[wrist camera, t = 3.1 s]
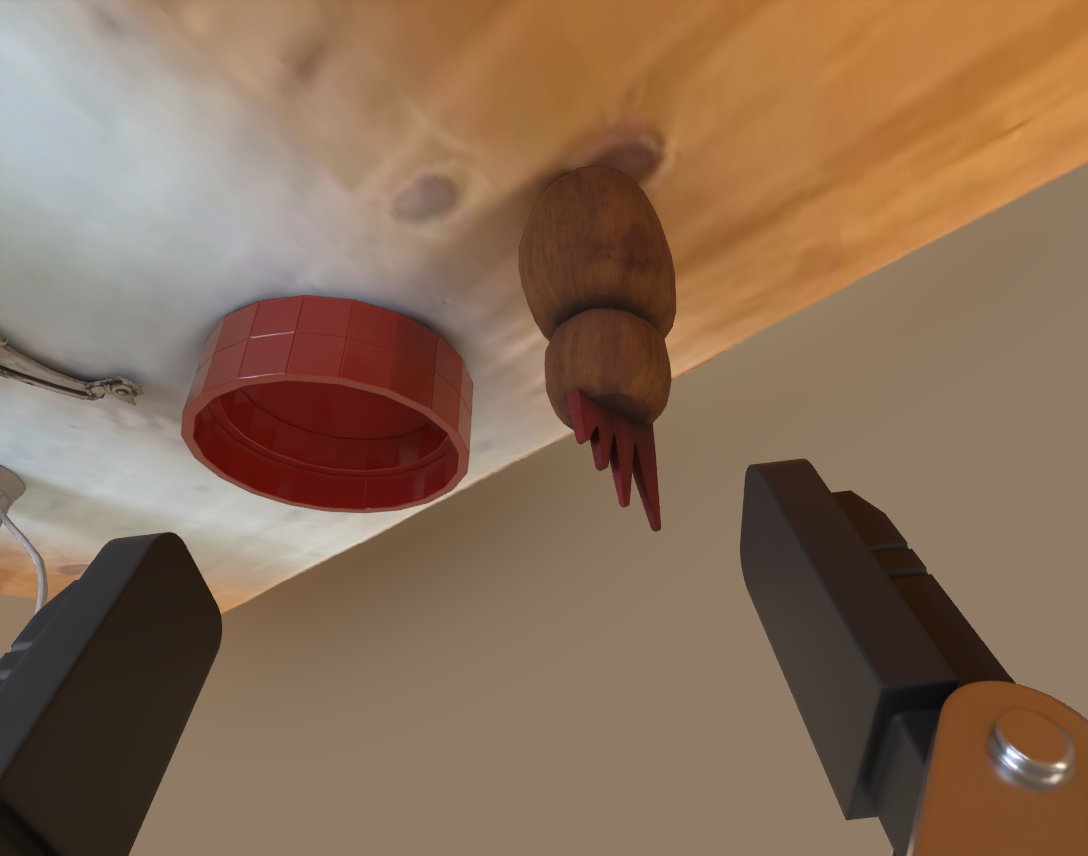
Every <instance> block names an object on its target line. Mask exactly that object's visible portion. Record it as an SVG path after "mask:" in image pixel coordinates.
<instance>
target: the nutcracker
mask: <svg viewBox="0 0 1088 856" xmlns="http://www.w3.org/2000/svg"><path fill="white" fill-rule="evenodd" d="M7 342H8V339H7V338H3V337H1V336H0V376H2V377H6V378H12V379H15V380H18V381H21V382H24V383H27V384H30V385H34V386H37V387H40V388H44V389H47V390H50V391H54V392H57V393H61V394H65V395H69V396H72V397H76V398H80V399H82V400H84V399H86V400H97V399H99V398H103V397H104V395H105V393H109V394H113V395H114V396H116V397H117V398H118V399H120V400H123V401H126V402H128V403H131V404H133V405H137V404H136V402H135V401H134V400H133V398H136V395H141V394H144V392H142V391H143V390H141V388H139V387H140V386H137V384H135V382H133V381H130V380H128V379H124V378H122V377H119V376H116V377H117V378H118V379H119V380H118V381H114V380H113V379H106V380H104V381H103V380H100V381H96V382H93V381H90V382H89V383H88V382H84V381H80V380H77V379H73V378H71V377H68V376H65V375H63V374H60V373H58V372H55V371H53V370H51V369H49V368H47V367H45V366H43V365H41V364H39V363H37V362H35V361H33V360H32V359H30V358H28V357H26V356H24V355H23V354H21V353H19V352H17V351H16V350H14V349H12V348H11V347H9V346H7V345H6V344H7Z"/></svg>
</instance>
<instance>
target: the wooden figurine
mask: <svg viewBox="0 0 1088 856" xmlns="http://www.w3.org/2000/svg"><path fill="white" fill-rule="evenodd" d="M519 272H520V277H521V282H522V287H523V290H524V293H525V296H526V299H527V302H528V305H529V307H530V310H531V312H532V315H533V317H534V320H535V322H536V324H537V325H538V327H539V329H540V330H541V332H542V334H543V335H544V337H546V338H547V339H548V340H549V341H550V342H549V345H548V347H547V349H546V351H545V379H546V391H547V394H548V397H549V400H550V402H551V405H552V407H553V409H554V411H555V413H556V415H557V416H558V418H559V419H560V420H561V421H562V422H563V423H564V424H565V425H566V426H568V427H569V428H571V429H572V430H574V432H575V436H576V440H577V442H578V443H579V444H582V443H584V442H586V441H588V440H589V439H590V442H591V447H592V452H593V456H594V461H595V466H596V469H597V470H599V471H601V470H603V469H606V468H607V467H608V464H609V460H610V465H611V469H612V473H613V478H614V482H615V486H616V491H617V495H618V499H619V503H620V505H621V506H622V507H626V506H629V504H630V491H631V478H632V473H633V476H634V479H635V482H636V485H637V488H638V490H639V493H640V497H641V499H642V502H643V505H644V508H645V511H646V514H647V517H648V520H649V523H650V526H651V528H652V530H653V531H659V530H660V529H661V520H660V506H659V493H658V481H657V480H658V479H657V466H656V453H655V443H654V433H653V424H652V423H653V422H654V421H655V420H656V419H657V418H658V417H659V416H660V415H661V413H662V412H663V410H664V408H665V407H666V404H667V401H668V397H669V391H670V386H671V369H670V362H669V358H668V353H667V349H666V344H665V340H664V339H665V338H666V336H667V335H668V333H669V332H670V330H671V329H672V327H673V323H674V319H675V314H676V288H675V273H674V267H673V261H672V256H671V253H670V250H669V246H668V243H667V240H666V237H665V234H664V232H663V229H662V226H661V223H660V220H659V218H658V216H657V214H656V212H655V210H654V208H653V206H652V205H651V203H650V201H649V200H648V198H647V196H646V195H645V193H644V192H643V190H642V189H641V188H640V187H639V186H638V184H637V183H636V182H635V181H633V180H632V179H631V178H629V177H628V176H627V175H625V174H624V173H623V172H621V171H618V170H614V169H610V168H607V167H603V166H596V167H582V168H578V169H576V170H574V171H571V172H569V173H567V174H565V175H563V176H561V177H560V178H559V179H557V180H556V181H555V182H554V183H553V184H551V185H550V186H549V187H548V188H547V189H546V190H545V191H544V192H543V194H542V195H541V196H540V197H539V199H538V201H537V203H536V205H535V206H534V208H533V210H532V213H531V215H530V217H529V220H528V222H527V225H526V227H525V229H524V232H523V236H522V239H521V242H520V245H519Z"/></svg>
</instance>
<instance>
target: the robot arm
mask: <svg viewBox="0 0 1088 856" xmlns="http://www.w3.org/2000/svg"><path fill="white" fill-rule="evenodd" d="M740 557H741V566H742V571H743V576H744V580H745V583H746V586H747V589H748V592H749V594H750V597H751V599H752V601H753V604H754V606H755V608H756V611H757V613H758V615H759V617H760V620H761V622H762V625H763V627H764V629H765V632H766V634H767V636H768V639H769V641H770V643H771V646H772V648H773V650H774V653H775V655H776V658H777V660H778V662H779V665H780V667H781V669H782V671H783V674H784V676H785V679H786V681H787V683H788V686H789V688H790V690H791V693H792V695H793V697H794V700H795V702H796V704H797V707H798V709H799V711H800V714H801V716H802V718H803V721H804V723H805V725H806V727H807V730H808V732H809V735H810V737H811V739H812V742H813V744H814V746H815V749H816V751H817V753H818V756H819V758H820V760H821V763H822V765H823V767H824V769H825V772H826V774H827V777H828V779H829V781H830V784H831V786H832V788H833V791H834V793H835V795H836V798H837V800H838V802H839V805H840V807H841V809H842V812H843V814H844V816H845V819H846V820H852V819H860V818H870V817H879V819H880V822H881V824H882V826H883V828H884V830H885V832H886V834H887V836H888V839H889V841H890V843H891V845H892V850H891V853H890V856H1088V720H1087V719H1086V718H1084V717H1083V716H1082V715H1081V714H1080V713H1078V712H1077V711H1075V710H1074V709H1072V708H1071V707H1069V706H1068V705H1066V704H1065V703H1063V702H1061V701H1059V700H1057V699H1055V698H1054V697H1052V696H1050V695H1048V694H1045V693H1043V692H1040V691H1038V690H1036V689H1033V688H1029V687H1026V686H1023V685H1020V684H1016V683H1015V682H1014V680H1013V679H1012V678H1011V677H1010V676H1009V675H1008V674H1007V672H1006V671H1005V670H1004V668H1003V667H1002V666H1001V664H1000V663H999V662H998V661H997V659H996V658H995V657H994V655H993V654H992V653H991V651H990V650H989V649H988V647H987V646H986V645H985V644H984V642H983V641H982V640H981V638H980V637H979V636H978V634H977V633H976V632H975V630H974V629H973V628H972V627H971V625H970V624H969V623H968V621H967V620H966V619H965V618H964V616H963V615H962V614H961V612H960V611H959V610H958V608H957V607H956V606H955V604H954V603H953V602H952V600H951V599H950V598H949V597H948V596H947V594H946V593H945V591H944V590H943V589H942V587H941V586H940V585H939V583H938V582H937V581H936V580H935V578H934V577H933V576H932V575H931V574H929V575H928V573H927V571H926V566H925V565H924V564H923V563H922V561H921V560H920V559H919V557H918V556H917V555H916V553H915V552H914V551H913V550H912V549H908V546H907V542H906V540H905V539H904V538H903V537H902V535H901V534H900V533H899V532H898V530H897V529H896V527H895V526H894V525H893V524H892V522H891V521H890V519H889V518H888V517H887V516H886V514H885V513H883V512H882V511H880V510H879V509H877V508H876V507H874V506H873V505H871V504H870V503H868V502H867V501H865V500H864V499H863V498H861V497H860V496H858V495H856V494H855V493H854V492H852V491H842V492H835V493H831V492H830V490H829V489H828V487H827V486H826V485H825V483H824V482H823V480H822V479H821V477H820V476H819V475H818V473H817V471H816V470H815V469H814V467H813V466H812V464H811V463H810V462H809V461H808V460H806V459H795V460H788V461H779V462H770V463H762V464H753V465H750V466H749V467H748V468H747V471H746V475H745V487H744V500H743V514H742V527H741V541H740ZM221 636H222V621H221V614H220V611H219V608H218V605H217V603H216V601H215V600H214V598H213V596H212V594H211V592H210V590H209V588H208V586H207V585H206V583H205V581H204V579H203V577H202V575H201V573H200V571H199V570H198V568H197V566H196V564H195V562H194V560H193V558H192V556H191V555H190V553H189V551H188V549H187V547H186V545H185V543H184V542H183V540H182V539H181V538H180V537H179V536H178V535H176V534H174V533H171V532H166V533H158V534H149V535H141V536H133V537H124V538H117V539H113V540H111V541H109V542H108V543H107V544H106V545H105V546H104V547H103V548H102V549H101V551H100V552H99V553H98V555H97V556H96V557H95V559H94V560H93V561H92V563H91V564H90V565H89V567H88V568H87V570H86V571H85V572H84V574H83V575H82V576H81V578H80V579H79V580H75V581H74V582H72V583H71V584H70V585H69V586H68V587H66V588H65V589H64V590H63V591H62V592H60V593H59V594H58V595H57V596H55V597H54V598H53V599H52V600H51V601H49V602H48V603H47V604H46V605H45V606H43V607H42V608H41V609H40V610H39V611H37V613H36V614H35V615H34V617H33V618H32V619H31V620H30V622H29V623H28V625H27V626H26V627H25V628H24V630H23V631H22V632H21V634H20V635H19V636H18V637H17V639H16V640H15V641H14V643H13V644H12V645H11V647H12V650H11V652H9V653H5V654H4V656H3V657H2V658H1V659H0V856H128V855H129V853H130V851H131V848H132V846H133V844H134V841H135V839H136V837H137V835H138V832H139V830H140V828H141V826H142V823H143V821H144V819H145V816H146V814H147V812H148V809H149V807H150V805H151V803H152V800H153V798H154V796H155V794H156V791H157V789H158V787H159V784H160V782H161V780H162V778H163V775H164V773H165V771H166V769H167V766H168V764H169V762H170V760H171V757H172V755H173V753H174V750H175V748H176V746H177V744H178V741H179V739H180V737H181V735H182V732H183V730H184V728H185V725H186V723H187V721H188V719H189V716H190V714H191V712H192V710H193V707H194V705H195V703H196V700H197V698H198V696H199V693H200V691H201V689H202V687H203V685H204V682H205V680H206V678H207V675H208V673H209V671H210V669H211V666H212V664H213V662H214V659H215V657H216V655H217V652H218V650H219V647H220V643H221Z"/></svg>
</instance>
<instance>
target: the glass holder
mask: <svg viewBox="0 0 1088 856" xmlns="http://www.w3.org/2000/svg"><path fill="white" fill-rule="evenodd" d="M24 491H25V485H24V483H23V481H22V480H21V479H20V478H19V477H18V476H17V475H15V474H14V473H12V472H11V471H9V470H7V469H6V468H4V467H2V466H0V527H1V525H2V523H4V524H5V525H6V526H7V528H8V529H9V530H10V531H11V532H12V533H13V534H14V535H15V536H16V537H17V538H18V539H19V540H20V541H21V543H22V544H23V545H24V546H25V548H26V549H27V551H28V552H29V554H30V555H31V557H32V559H33V561H34V563H35V567H36V571H37V577H38V585H39V590H38V600H37V607H36V610H35V613H34V615H35V614H36V613H37V611H39V610H40V609H41V608H42V607H43V606H45V605H46V604H47V595H48V584H47V574H46V570H45V565H44V561H43V559H42V557H41V556H40V554H39V553H38V551H37V550H36V549H35V548H34V547H33V546H32V544H31V543H30V542H29V540H28V539H27V538H26V537H25V536H24V535H23V533H22V532H21V531H20V530H19V529H18V528H17V527H16V526H15V525H14V524H13V523H12V522H11V520H10V519H9V518H8V516H7V515H6V514H7V511H8V509H9V507H10V506H11V505H12V503H13V502H14V501H15V500H16V499H17V498H19V497H20V496H21V495H22V494H23V493H24ZM33 617H34V616H33ZM1 658H2V657H0V659H1Z"/></svg>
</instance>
